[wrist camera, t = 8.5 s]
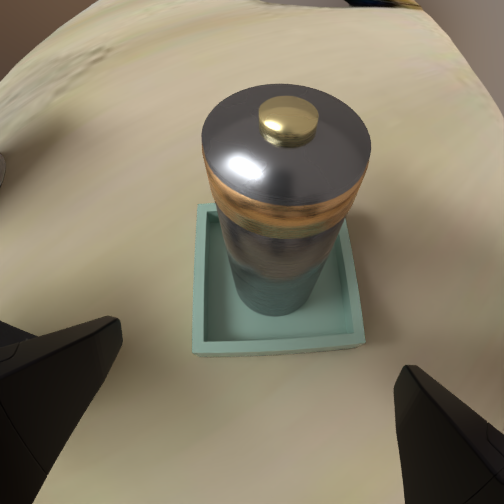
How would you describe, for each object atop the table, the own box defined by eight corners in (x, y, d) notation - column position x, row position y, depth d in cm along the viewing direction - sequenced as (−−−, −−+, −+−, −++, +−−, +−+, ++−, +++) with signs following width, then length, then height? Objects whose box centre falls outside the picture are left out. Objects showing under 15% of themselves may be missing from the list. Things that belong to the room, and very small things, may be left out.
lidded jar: (329, 293, 18) (413, 147, 7) (256, 332, 17) (245, 215, 6) (289, 229, 20) (311, 58, 9) (220, 261, 19) (174, 95, 8)
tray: (354, 347, 17) (365, 342, 15) (199, 356, 17) (192, 352, 15) (335, 215, 21) (341, 198, 19) (202, 220, 21) (197, 204, 19)
